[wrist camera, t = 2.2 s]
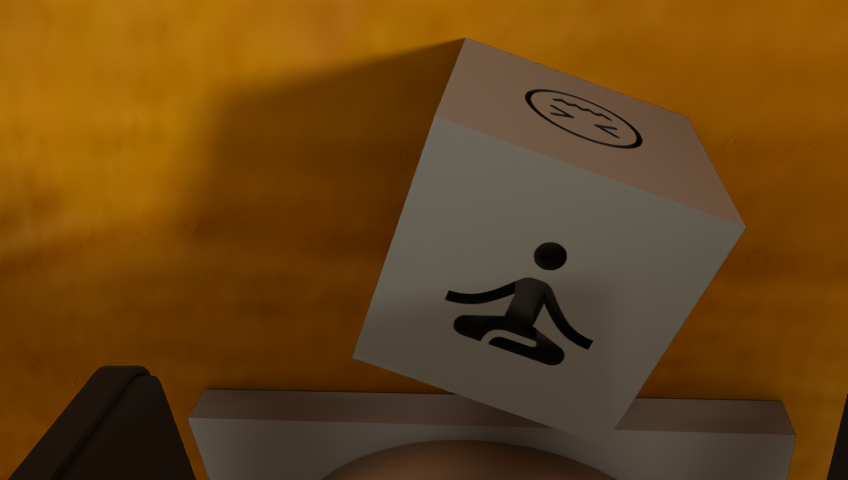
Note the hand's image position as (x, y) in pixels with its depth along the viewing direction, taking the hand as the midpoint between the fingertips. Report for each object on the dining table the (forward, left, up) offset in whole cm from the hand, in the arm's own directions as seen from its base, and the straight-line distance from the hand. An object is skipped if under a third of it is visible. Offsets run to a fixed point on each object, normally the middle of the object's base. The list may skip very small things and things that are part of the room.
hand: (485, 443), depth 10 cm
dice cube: (-1, -1, -8) cm, 8 cm away
